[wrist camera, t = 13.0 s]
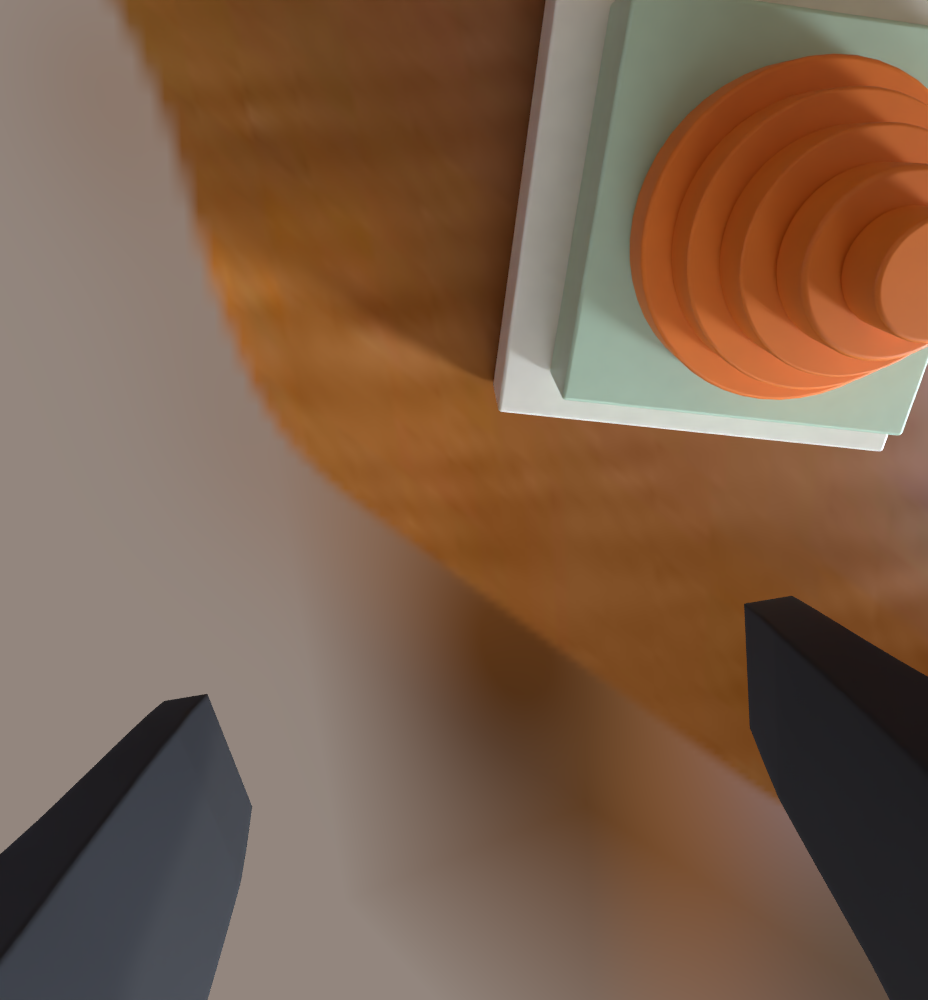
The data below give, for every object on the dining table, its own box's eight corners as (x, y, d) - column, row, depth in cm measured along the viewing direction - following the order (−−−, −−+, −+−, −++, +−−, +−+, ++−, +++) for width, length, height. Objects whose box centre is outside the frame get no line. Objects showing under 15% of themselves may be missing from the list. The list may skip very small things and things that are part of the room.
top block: (549, 373, 17) (561, 401, 15) (610, 1, 14) (634, -19, 13) (855, 407, 18) (902, 437, 16) (973, 53, 15) (1047, 41, 13)
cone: (602, 369, 15) (669, 466, 11) (666, 37, 13) (786, -19, 8) (880, 400, 16) (1058, 506, 11) (989, 83, 13) (1272, 52, 9)
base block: (492, 387, 19) (497, 412, 18) (552, -48, 16) (565, -72, 14) (843, 424, 20) (883, 452, 18) (978, 15, 16) (1045, -1, 15)
